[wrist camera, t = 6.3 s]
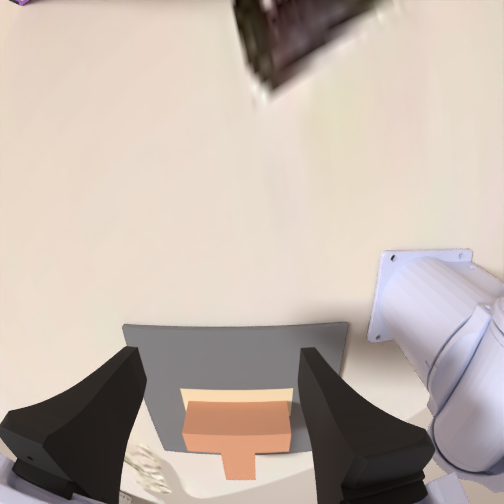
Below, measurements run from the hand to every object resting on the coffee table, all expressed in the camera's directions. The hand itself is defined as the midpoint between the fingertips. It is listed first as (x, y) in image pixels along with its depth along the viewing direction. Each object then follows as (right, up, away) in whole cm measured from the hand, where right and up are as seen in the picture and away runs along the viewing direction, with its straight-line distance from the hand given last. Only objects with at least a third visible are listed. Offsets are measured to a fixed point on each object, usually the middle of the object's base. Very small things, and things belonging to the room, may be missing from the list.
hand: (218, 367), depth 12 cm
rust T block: (0, -13, +14) cm, 19 cm away
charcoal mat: (0, -9, +13) cm, 16 cm away
